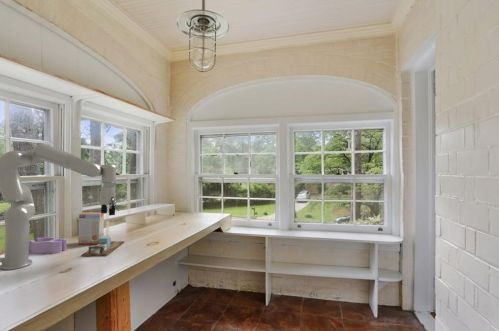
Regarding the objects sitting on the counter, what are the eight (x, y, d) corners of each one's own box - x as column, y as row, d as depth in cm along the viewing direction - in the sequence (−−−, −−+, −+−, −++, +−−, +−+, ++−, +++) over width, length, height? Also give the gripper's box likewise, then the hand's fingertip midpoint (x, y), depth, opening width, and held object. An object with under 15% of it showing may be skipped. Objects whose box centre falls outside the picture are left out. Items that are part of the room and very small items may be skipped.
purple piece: (70, 248, 167) (71, 237, 167) (55, 255, 155) (55, 243, 155) (41, 247, 168) (41, 236, 168) (23, 253, 156) (23, 242, 156)
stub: (98, 248, 165) (99, 238, 165) (102, 246, 170) (102, 236, 170) (107, 248, 166) (107, 238, 166) (110, 246, 171) (110, 236, 171)
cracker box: (103, 242, 182) (104, 212, 183) (98, 244, 176) (99, 213, 177) (83, 241, 182) (84, 211, 183) (77, 244, 176) (79, 213, 176)
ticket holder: (81, 256, 153) (81, 247, 153) (102, 242, 181) (103, 235, 181) (106, 256, 155) (106, 247, 155) (124, 242, 183) (124, 235, 183)
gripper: (95, 184, 157) (94, 213, 157) (109, 186, 147) (108, 216, 147) (108, 184, 163) (107, 211, 163) (122, 185, 153) (121, 215, 153)
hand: (107, 214), depth 155 cm, fingers open, 9 cm apart
